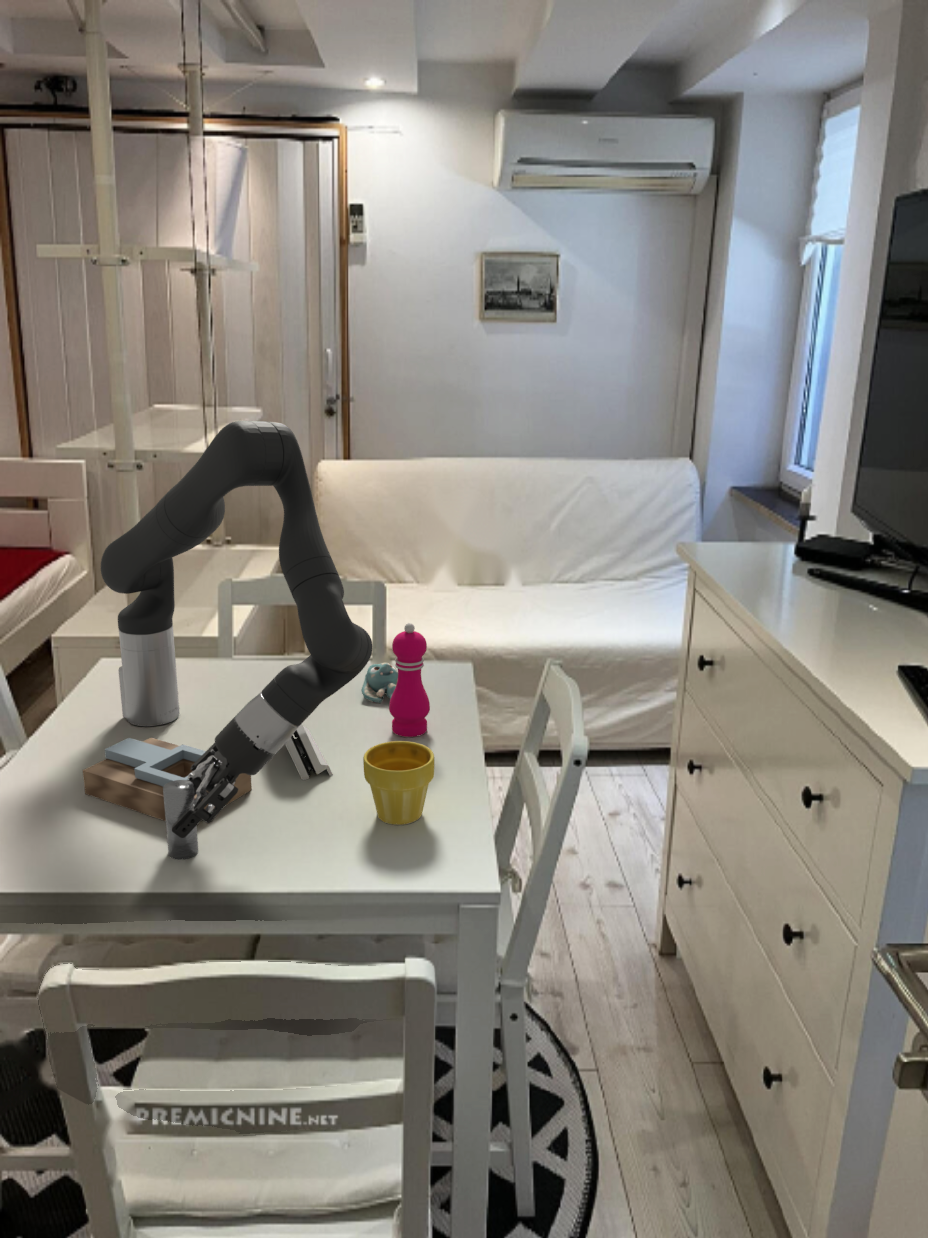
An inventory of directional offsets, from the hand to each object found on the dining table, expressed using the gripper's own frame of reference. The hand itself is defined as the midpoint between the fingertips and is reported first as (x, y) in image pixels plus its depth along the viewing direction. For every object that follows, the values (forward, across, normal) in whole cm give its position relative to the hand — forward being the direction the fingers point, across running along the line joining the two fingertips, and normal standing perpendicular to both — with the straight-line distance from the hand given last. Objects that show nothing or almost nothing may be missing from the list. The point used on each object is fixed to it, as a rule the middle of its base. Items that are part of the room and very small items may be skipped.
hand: (176, 818), depth 137 cm
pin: (+3, 0, +4) cm, 5 cm away
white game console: (-10, -26, +18) cm, 33 cm away
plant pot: (-19, -3, +26) cm, 32 cm away
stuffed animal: (-24, -49, +32) cm, 63 cm away
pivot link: (+2, -19, -1) cm, 20 cm away
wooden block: (+4, -19, +3) cm, 20 cm away
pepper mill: (-25, -32, +32) cm, 52 cm away
